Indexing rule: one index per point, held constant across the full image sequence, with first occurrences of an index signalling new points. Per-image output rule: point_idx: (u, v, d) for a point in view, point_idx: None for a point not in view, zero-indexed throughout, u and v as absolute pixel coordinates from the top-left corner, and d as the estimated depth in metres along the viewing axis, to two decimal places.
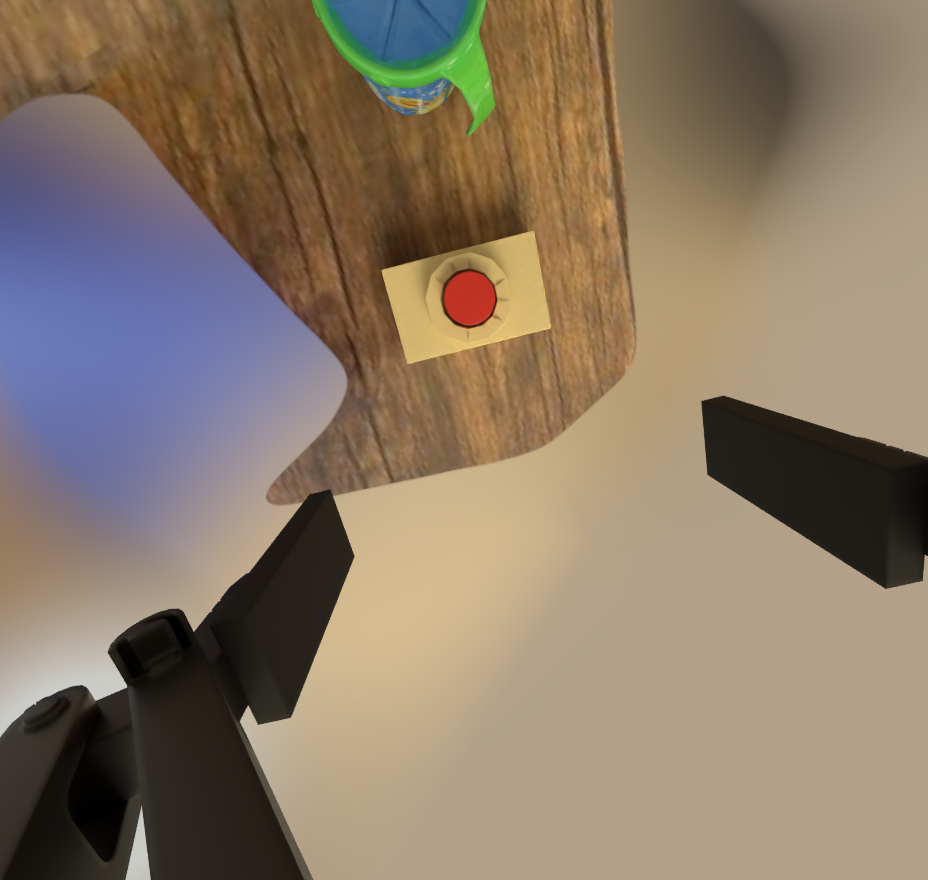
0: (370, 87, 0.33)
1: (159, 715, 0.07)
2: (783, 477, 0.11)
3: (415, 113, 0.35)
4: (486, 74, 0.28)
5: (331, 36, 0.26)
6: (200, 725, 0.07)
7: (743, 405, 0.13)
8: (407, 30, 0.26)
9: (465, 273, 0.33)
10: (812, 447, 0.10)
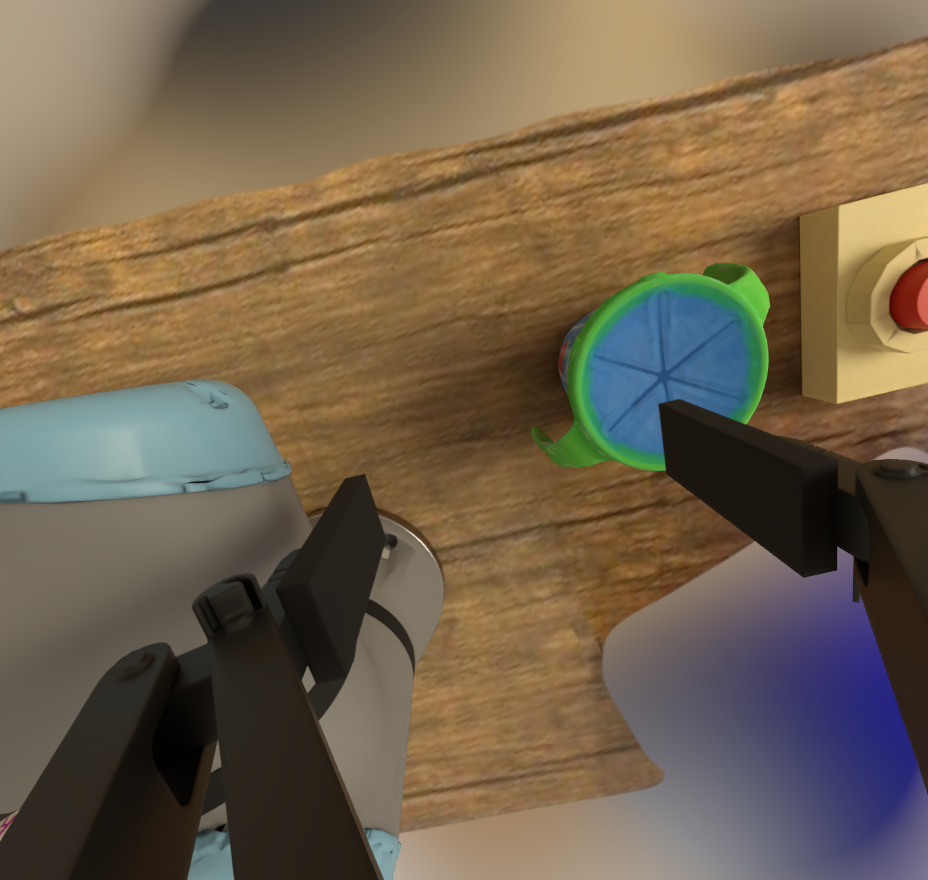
0: None
1: (235, 668, 0.08)
2: (723, 475, 0.12)
3: None
4: (752, 274, 0.23)
5: None
6: (269, 681, 0.07)
7: (693, 408, 0.14)
8: (715, 370, 0.23)
9: (918, 300, 0.26)
10: (743, 448, 0.11)
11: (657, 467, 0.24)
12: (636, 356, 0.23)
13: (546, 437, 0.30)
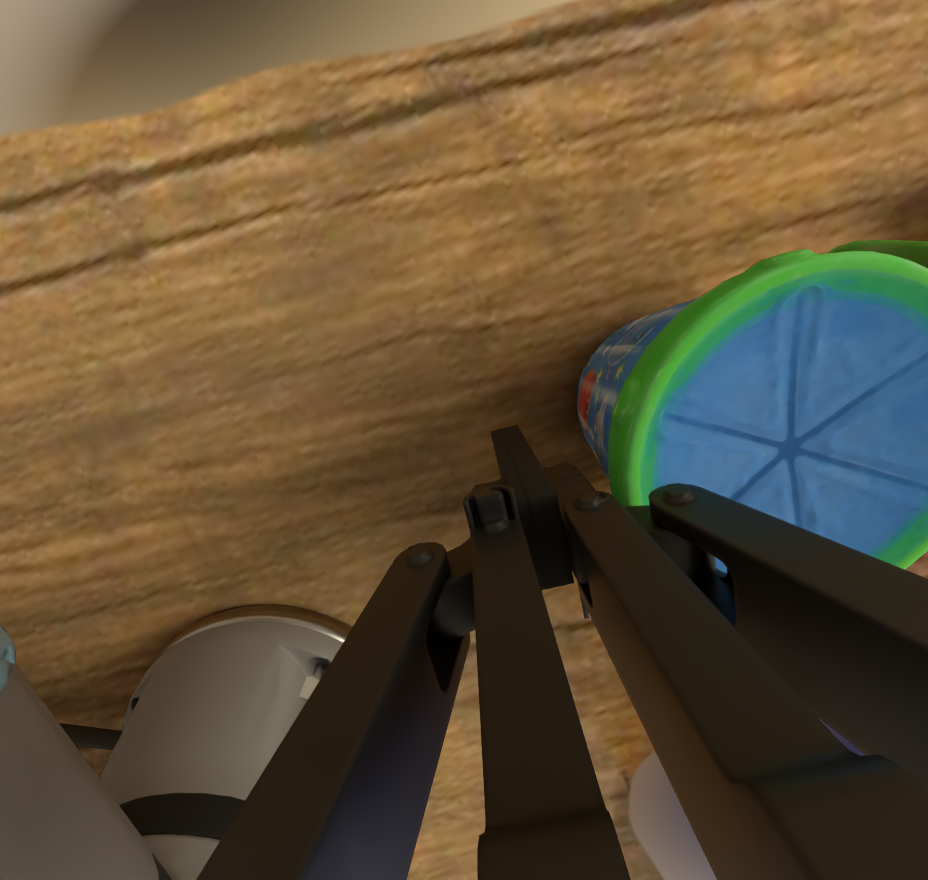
0: None
1: (489, 562, 0.09)
2: None
3: None
4: None
5: None
6: (516, 583, 0.08)
7: (516, 435, 0.16)
8: (889, 439, 0.12)
9: None
10: None
11: None
12: (743, 413, 0.12)
13: None
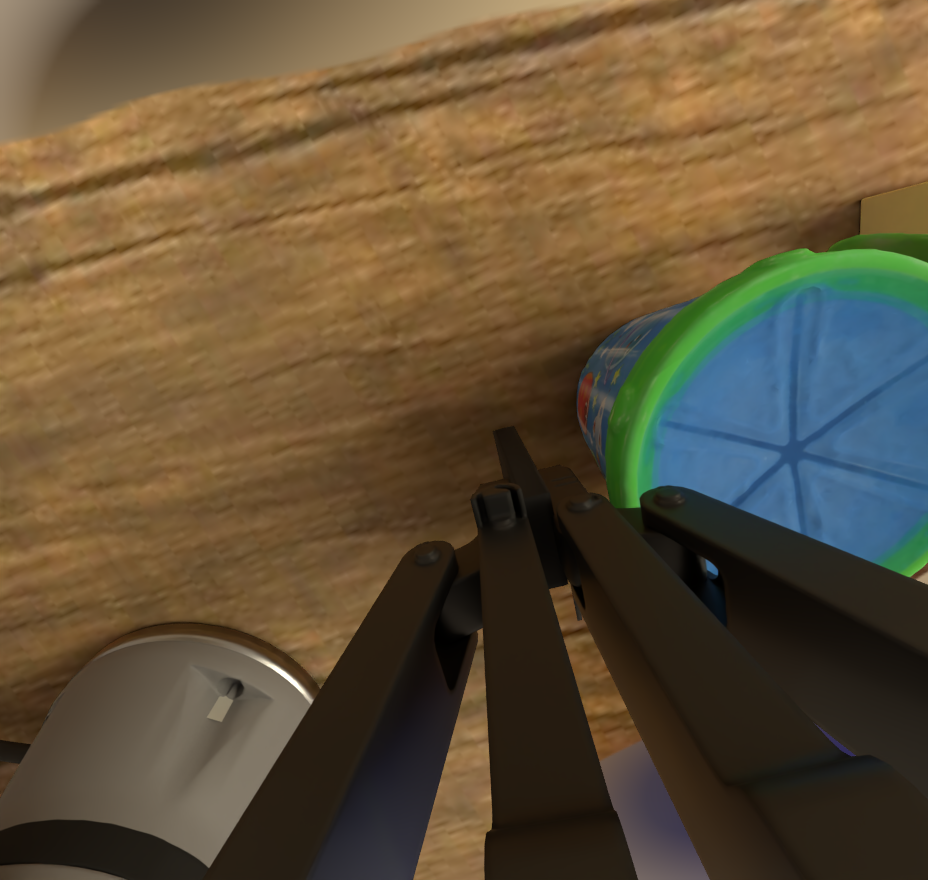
0: None
1: (497, 560, 0.09)
2: None
3: None
4: None
5: None
6: (524, 582, 0.08)
7: (510, 437, 0.16)
8: (895, 441, 0.12)
9: None
10: (509, 478, 0.13)
11: None
12: (743, 417, 0.12)
13: None
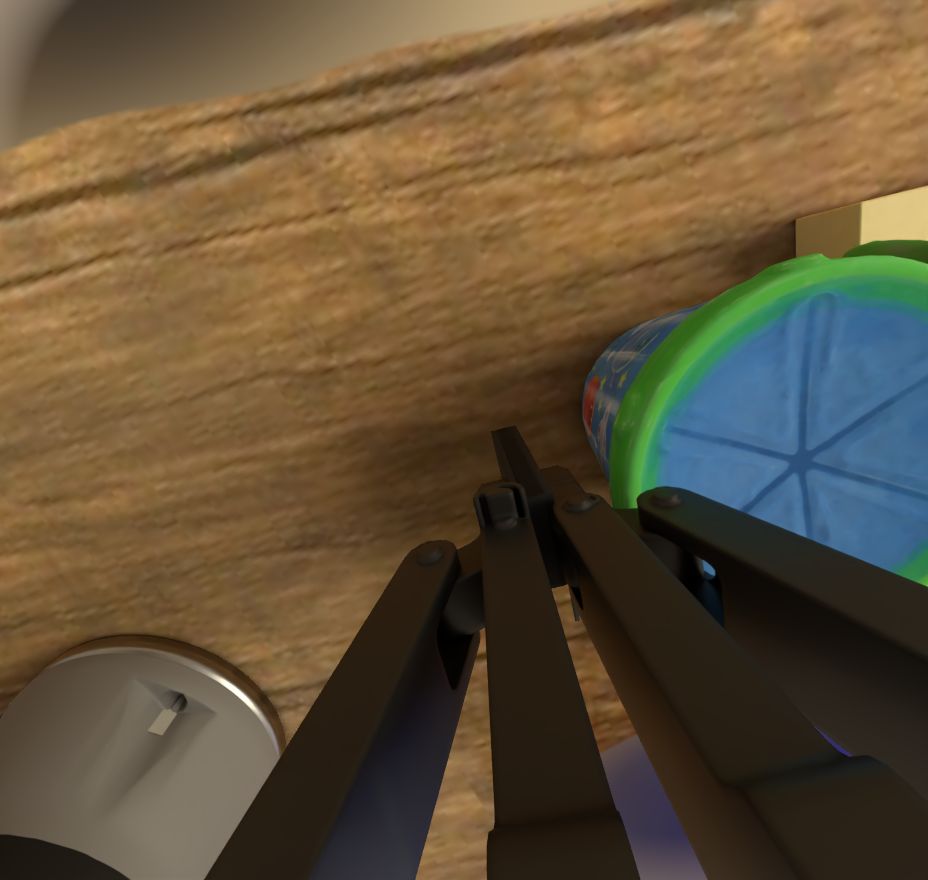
0: None
1: (499, 560, 0.09)
2: None
3: None
4: None
5: None
6: (526, 581, 0.08)
7: (509, 437, 0.16)
8: (908, 452, 0.12)
9: None
10: (507, 478, 0.13)
11: None
12: (751, 424, 0.12)
13: None
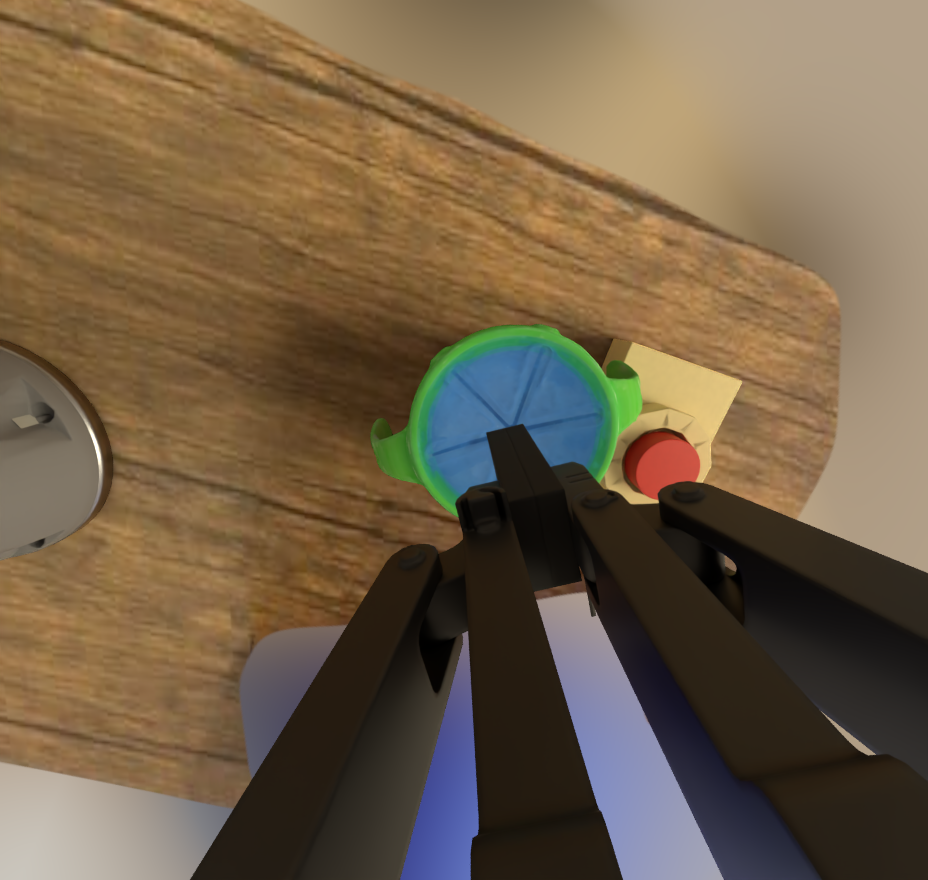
0: None
1: (482, 563, 0.09)
2: None
3: None
4: (635, 383, 0.22)
5: None
6: (509, 585, 0.08)
7: (523, 434, 0.16)
8: (559, 452, 0.22)
9: (641, 460, 0.26)
10: None
11: None
12: (495, 396, 0.21)
13: (389, 435, 0.27)
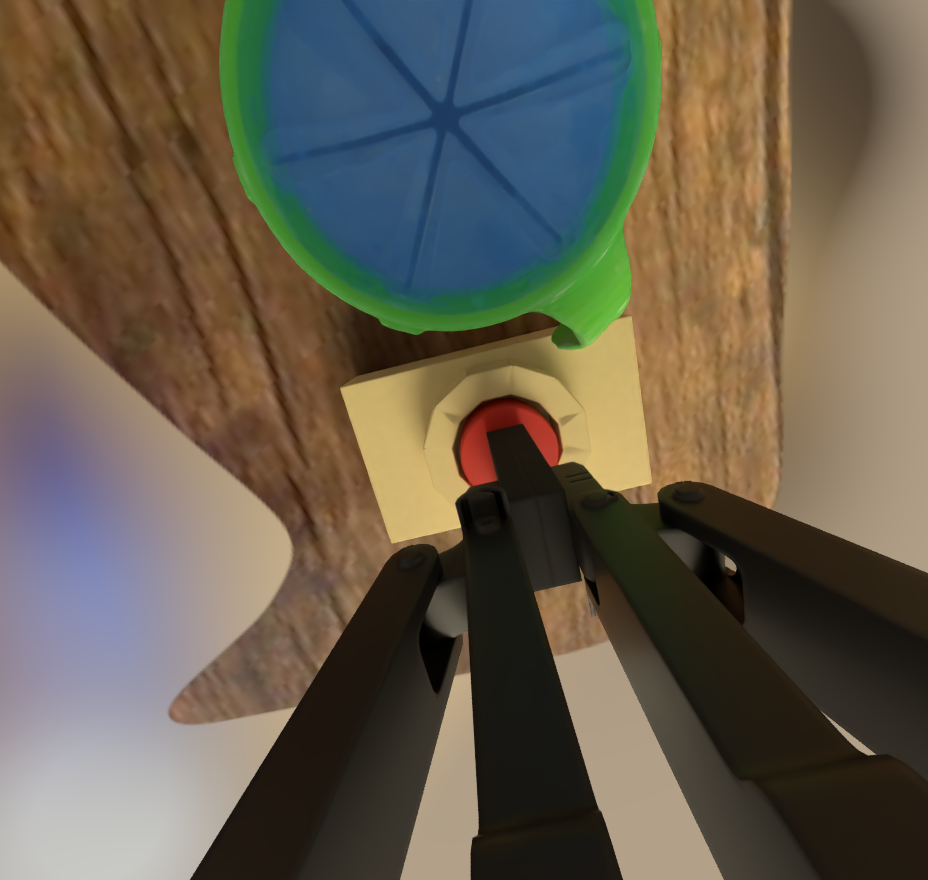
0: None
1: (482, 563, 0.09)
2: None
3: None
4: (626, 292, 0.13)
5: None
6: (509, 585, 0.08)
7: (523, 433, 0.16)
8: (460, 228, 0.12)
9: (502, 410, 0.17)
10: None
11: (230, 101, 0.10)
12: (489, 29, 0.10)
13: None
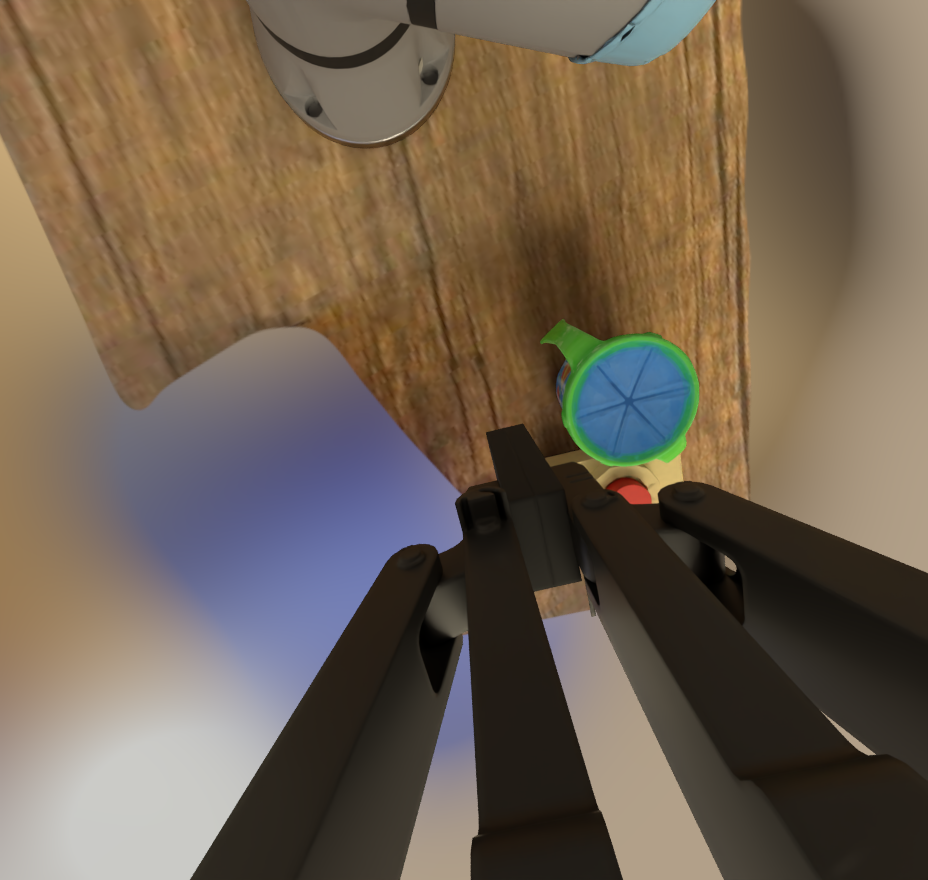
0: None
1: (482, 563, 0.09)
2: None
3: None
4: (684, 448, 0.36)
5: (576, 443, 0.35)
6: (509, 585, 0.08)
7: (523, 433, 0.16)
8: (631, 434, 0.35)
9: (629, 486, 0.40)
10: None
11: (569, 404, 0.33)
12: (646, 379, 0.34)
13: None
